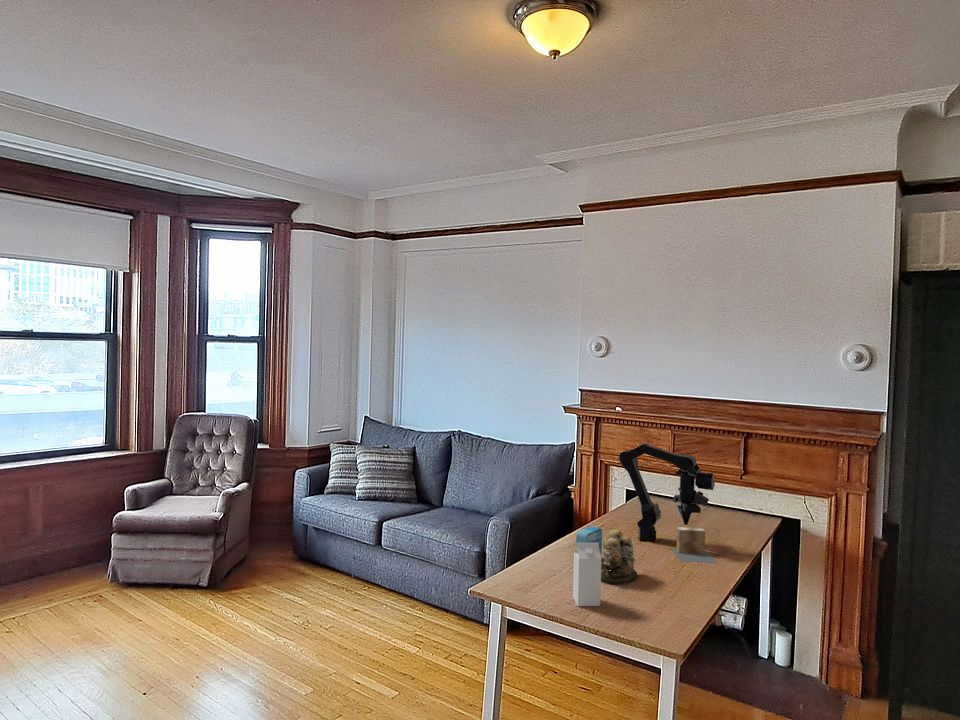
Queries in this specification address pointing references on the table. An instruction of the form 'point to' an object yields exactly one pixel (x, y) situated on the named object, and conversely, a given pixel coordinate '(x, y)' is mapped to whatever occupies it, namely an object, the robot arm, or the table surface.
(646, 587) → the table surface
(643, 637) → the table surface
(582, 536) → the data package
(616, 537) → the owl figurine
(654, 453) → the robot arm
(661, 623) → the table surface
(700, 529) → the slab
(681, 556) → the mat
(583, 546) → the milk carton
